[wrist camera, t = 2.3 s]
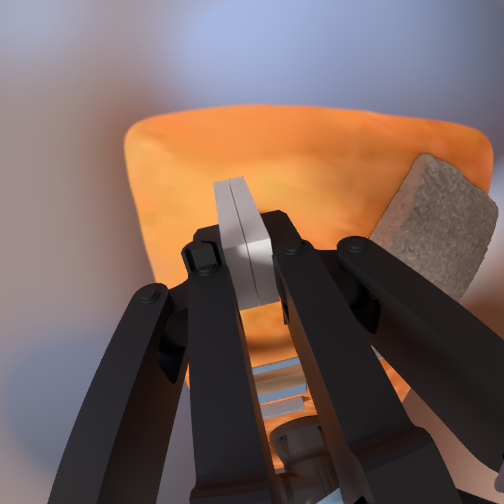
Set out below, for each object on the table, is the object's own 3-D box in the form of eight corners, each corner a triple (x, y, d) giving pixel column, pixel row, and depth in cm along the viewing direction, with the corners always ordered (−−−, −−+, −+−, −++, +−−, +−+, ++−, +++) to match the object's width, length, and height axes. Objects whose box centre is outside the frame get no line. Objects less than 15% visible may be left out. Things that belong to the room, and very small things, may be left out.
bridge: (309, 326, 43) (330, 376, 35) (211, 349, 42) (217, 403, 34) (309, 312, 41) (331, 362, 33) (206, 336, 40) (210, 391, 33)
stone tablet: (411, 138, 30) (302, 329, 43) (458, 158, 24) (320, 372, 36) (484, 199, 37) (392, 340, 50) (519, 223, 30) (412, 373, 43)
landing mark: (306, 391, 53) (306, 392, 52) (244, 406, 52) (244, 407, 52) (303, 355, 46) (304, 356, 46) (230, 372, 46) (230, 373, 46)
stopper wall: (301, 398, 54) (304, 409, 52) (251, 410, 54) (253, 421, 52) (301, 396, 53) (304, 406, 51) (250, 408, 53) (252, 419, 51)
